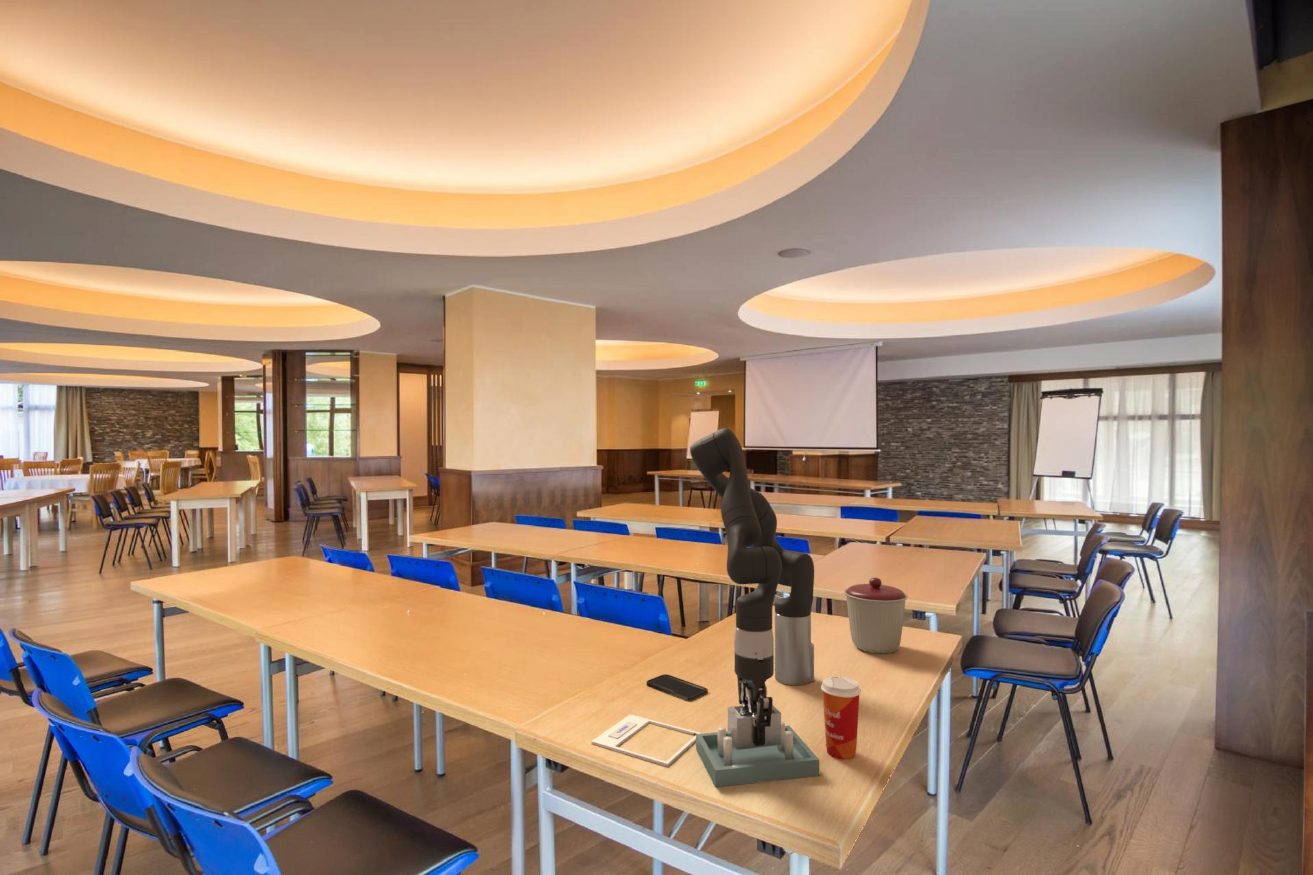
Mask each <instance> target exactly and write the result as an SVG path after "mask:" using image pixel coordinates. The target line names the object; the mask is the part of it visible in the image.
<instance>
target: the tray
mask: <svg viewBox="0 0 1313 875" xmlns="http://www.w3.org/2000/svg"><path fill="white" fill-rule="evenodd" d="M695 735H696V741H695V750H696V752H697V754H698V756H699V758H700V759H701V761H702V763H703V766H704V768H705V769H706V772H707V774H708V775H709V777H710V779H711V781H712V784H713V785H714V787H715V788H720V787H728V786H737V785H745V784H746V785H747V784H755V783H765V782H773V781H782V780H793V779H801V778H810V777H818V776H820V758H819V757H818V756H817V755H816V754H815V753H814V752H813V750H812V749H811V748H810V747H809V746H808V744H806V743H805V741H803V739H802V738H801V737H800V736H799V734H797V732H795V729H793V728H792V727H791V726H790V725H786V723H785V722H784V721H783V722H782V721H781V745H774V746H766V747H758V748H750V749H742V750H737V749H736V748H735V747H734V745H733V744H732V738H731V737H728V730H727V729H726V727H723V726H720V727H717V732H716V731H715V732H705V733H702V734H695Z"/></svg>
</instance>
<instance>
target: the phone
mask: <svg viewBox="0 0 1313 875" xmlns="http://www.w3.org/2000/svg"><path fill="white" fill-rule="evenodd" d="M647 686H648V687H649V688H652V689H655V690H658V691H660V692H663V693H665V694H668V695H670V696H673V697H675V698H678V699H681V700H683V701H686V702H691V701H694V700H695V699H699V698H700V697H702V696H705V695H706V694H708V692H709V690H708V688H707V687H705V686H702V685H699V684H696V683H693V682H690V681H687V680H684V679H681V678H679V677H676V676H674V675H671V674H661V675H658V676H656V677H653V678H651V679H648V680H646V687H647Z"/></svg>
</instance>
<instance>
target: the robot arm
mask: <svg viewBox="0 0 1313 875" xmlns="http://www.w3.org/2000/svg"><path fill="white" fill-rule="evenodd" d="M689 448H690V449H689V454H690V456H691V458H692V461H693V463H694V465H695V467H696V468H697V469H698V471H699V473H700V474H701V475H702V476H703V478H704V479H705V480H706V481H707V483H709V485H710V486H711V487H712V488H713V490H714V491H715V492H716V493H717V495H718V496H719V497H720V498H721V506H720V514H721V519H722V522H723V527H724V530H725V534H726V539H727V540H726V541H727V555H726V556H727V557H726V572H727V575H728V577H729V579H730V580H731V581H732V582H734V583H735V584H736V585H737V584H738V585H754V584H755V585H756V584H757V586H756V588H755V589H754V591H752V592H749V593H746V594H743V595H740V596H739V597H737V599H736V602H735V631H734V632H735V633H734V673H735V675H736V680H737V690H738V692H737V693H738V704H739V705H741V706H743V705H744V706H746V705H748V706H749V712H750V713H752V716H753V743H754V745H755V746H761V745H764V744H765V727H770V726H771V715H772V705H774V704H773V702H774V700H773V697H772V696H768V688H767V686H766V681H768V680H770V679H771V678H773V676H774V679H775V680H776V681H777V682H779V683H782V684H786V685H789V686H790V685H791V686H803V685H808V684H809V683H812V682H813V683H814V682H815V645H814V643H812V618H811V617H812V605H813V603H814V602H813V601H814V587H815V586H814V584H815V565H814V560H813V558H812V557H811V555H810V554H808V553H807V552H802V551H795V550H787V549H786V548H783V546H781V544H780V543H779V542H778V539H777V538H776V531H777V527H778V518H777V515H776V512H775V511H774V509H773V507H772V506H771V504H770V502H768V500H767V498H766V497H765V496H764V495H763V494H762V492H760V491H758V490H755V489H754V488H751V487H750V484H749V482H750V481H749V476H748V475H749V474H748V470H747V465H746V457H745V453H744V450H743V448H742V445H741V442H740V440H739V439H738V437H737V435H736V434H735V433H734V431H732V430H731V429H730V428H728V427H725V428H721V429H718V430H716V431H714V432H712V433H710V434H708V435H706V436H704V437H702V438H700V439H698V440H696V441H695V442H693V443H692V444H691V445H690V447H689ZM726 471H729V477H728V476H726V475H725V474H724V472H726ZM778 585H780V586H783V587H790V594H789V596H787V597H783V598H779V599H777V600H775V597H776V593H777V589H778ZM774 601H775V603H774ZM773 606H774V632H773ZM753 706H757V708H754V707H753ZM756 713H757V717H756ZM761 718H762V719H761Z"/></svg>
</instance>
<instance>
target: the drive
mask: <svg viewBox="0 0 1313 875" xmlns="http://www.w3.org/2000/svg"><path fill="white" fill-rule="evenodd" d="M753 707H754V708H757V706H753ZM756 717H757V713H756ZM761 719H762V718H761ZM781 722H782V712H781V711H780V710H778V709H777V707H775V705H774V704H772V715H771V726H770V727H765V744H764V745H761V746H755V745H754V743H753V716H752V713H750V712H749V706H748V705H746V706H744V705H743V706H742V705H736V706H727V731H728V737H731V738H732V744H733V745H734V747H735V748H736V749H737V750H742V749H750V748H758V747H766V746H774V745H781Z"/></svg>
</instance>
